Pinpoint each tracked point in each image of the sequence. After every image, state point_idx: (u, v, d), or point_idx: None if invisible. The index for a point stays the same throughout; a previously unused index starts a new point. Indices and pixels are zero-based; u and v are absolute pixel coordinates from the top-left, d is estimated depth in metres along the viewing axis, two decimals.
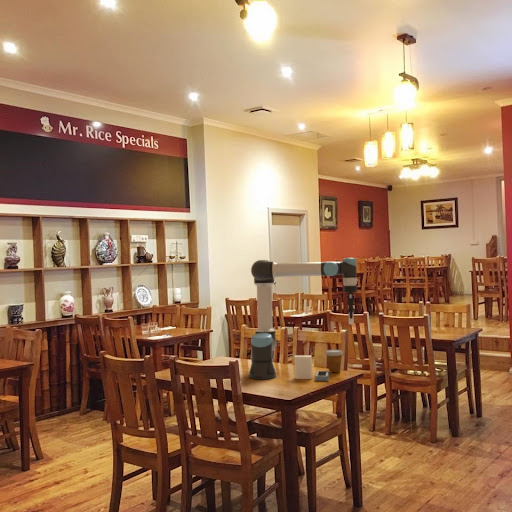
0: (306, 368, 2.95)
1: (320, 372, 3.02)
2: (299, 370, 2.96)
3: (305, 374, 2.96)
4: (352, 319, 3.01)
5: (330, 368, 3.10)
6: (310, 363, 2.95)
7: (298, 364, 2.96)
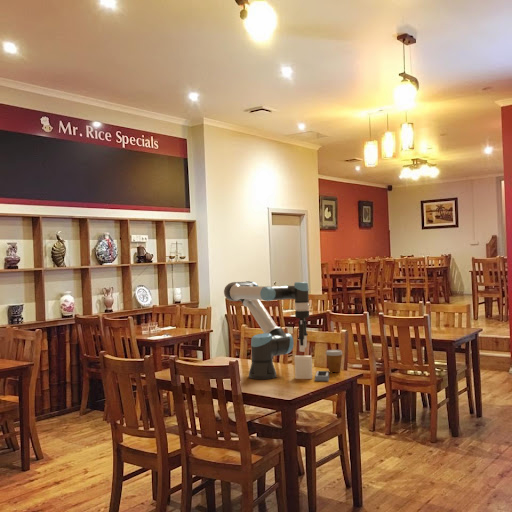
0: (306, 368, 2.96)
1: (320, 372, 3.02)
2: (299, 370, 2.96)
3: (305, 374, 2.96)
4: (303, 346, 2.90)
5: (330, 368, 3.10)
6: (310, 363, 2.95)
7: (298, 364, 2.96)
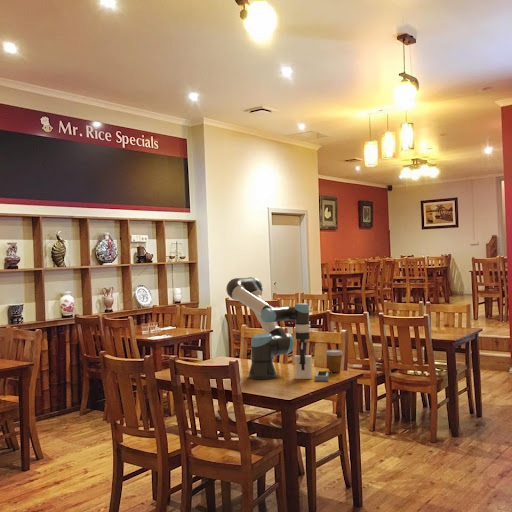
0: (306, 368, 2.96)
1: (320, 372, 3.02)
2: (299, 370, 2.96)
3: None
4: (304, 371, 2.95)
5: (330, 368, 3.10)
6: (310, 363, 2.96)
7: (298, 364, 2.96)
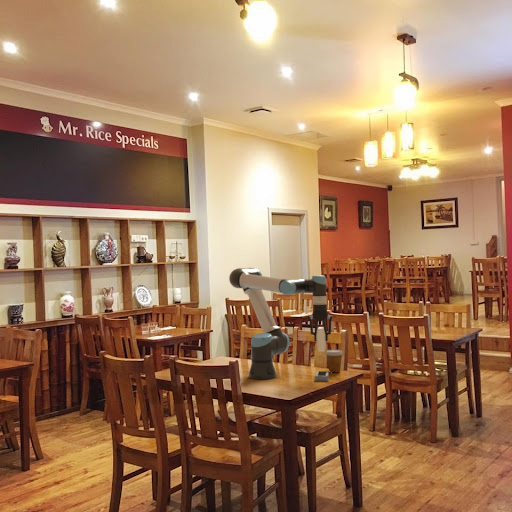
0: None
1: (320, 372, 3.02)
2: None
3: None
4: None
5: (330, 368, 3.10)
6: (317, 335, 2.92)
7: None
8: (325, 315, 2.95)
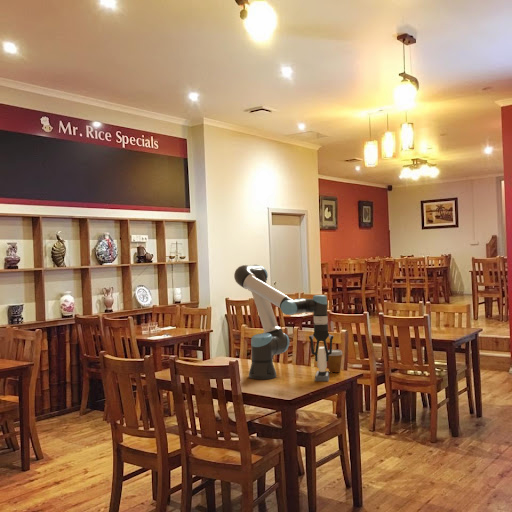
0: None
1: (320, 372, 3.02)
2: None
3: None
4: (317, 362, 2.96)
5: (330, 368, 3.10)
6: (318, 356, 2.92)
7: None
8: (326, 335, 2.95)
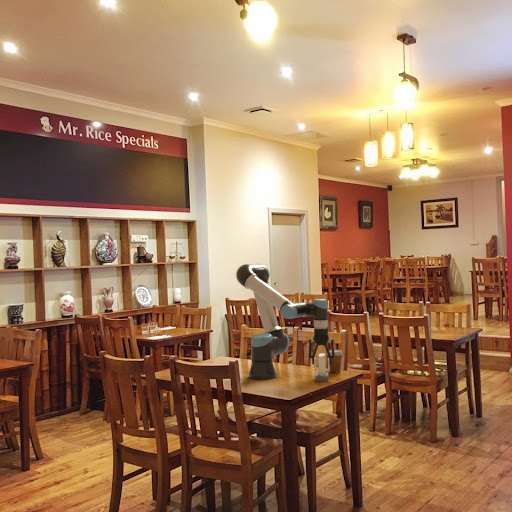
0: None
1: None
2: None
3: None
4: (314, 365, 2.96)
5: (330, 368, 3.10)
6: (318, 363, 2.92)
7: None
8: (326, 339, 2.94)
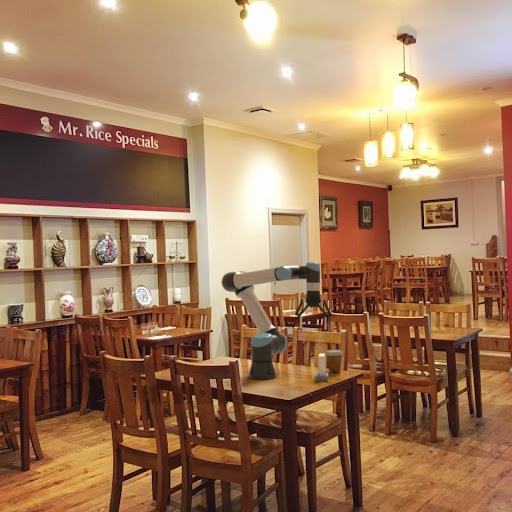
0: None
1: None
2: None
3: None
4: (300, 323, 3.03)
5: (330, 368, 3.10)
6: (318, 363, 2.92)
7: None
8: (318, 301, 3.00)
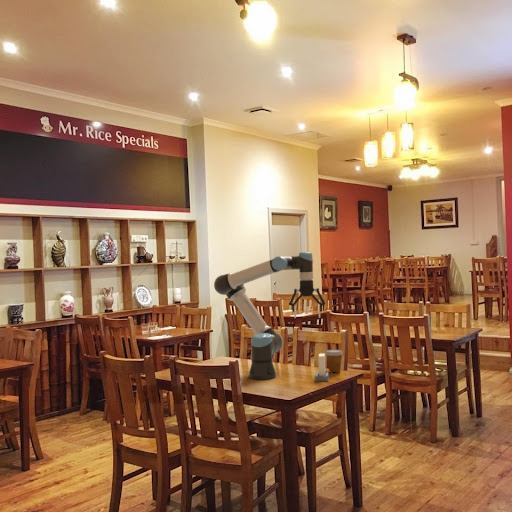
0: None
1: None
2: None
3: None
4: (294, 313, 3.08)
5: (330, 368, 3.10)
6: (318, 363, 2.92)
7: None
8: (312, 290, 3.06)
